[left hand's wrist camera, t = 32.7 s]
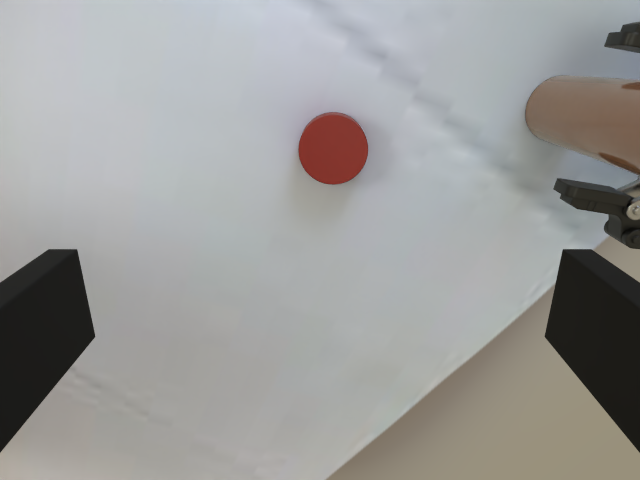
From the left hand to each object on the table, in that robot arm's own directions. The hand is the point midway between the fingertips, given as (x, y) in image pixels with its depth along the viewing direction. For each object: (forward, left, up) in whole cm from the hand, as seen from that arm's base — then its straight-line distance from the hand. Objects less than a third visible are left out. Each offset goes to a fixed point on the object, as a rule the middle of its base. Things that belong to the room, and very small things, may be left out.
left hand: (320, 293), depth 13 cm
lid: (+1, 0, -22) cm, 21 cm away
